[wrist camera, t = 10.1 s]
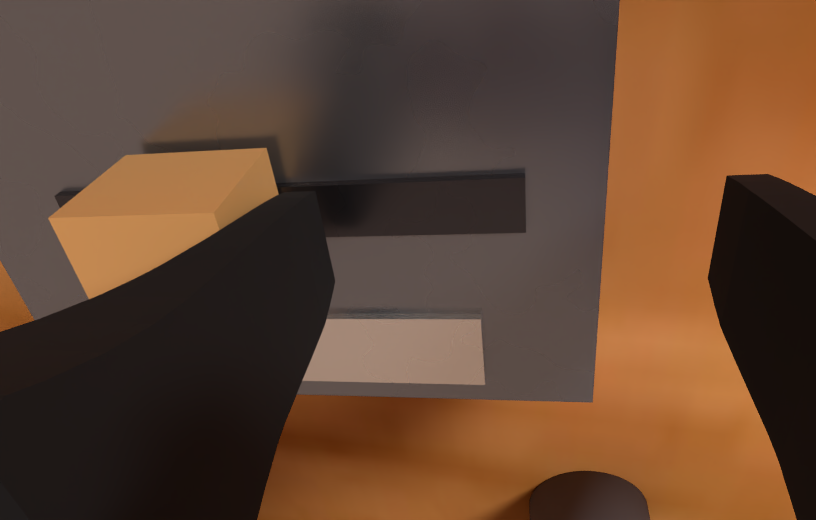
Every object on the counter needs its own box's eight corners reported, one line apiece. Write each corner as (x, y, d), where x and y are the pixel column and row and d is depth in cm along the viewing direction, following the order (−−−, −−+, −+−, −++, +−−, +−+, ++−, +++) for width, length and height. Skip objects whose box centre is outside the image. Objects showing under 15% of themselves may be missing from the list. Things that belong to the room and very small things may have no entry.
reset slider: (300, 274, 13) (260, 354, 11) (175, 275, 14) (116, 352, 12) (267, 146, 12) (213, 212, 10) (127, 154, 12) (48, 218, 10)
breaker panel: (581, 321, 17) (593, 408, 15) (129, 319, 20) (69, 393, 17) (605, -151, 11) (631, -148, 8) (-51, -64, 14) (-185, -40, 11)
